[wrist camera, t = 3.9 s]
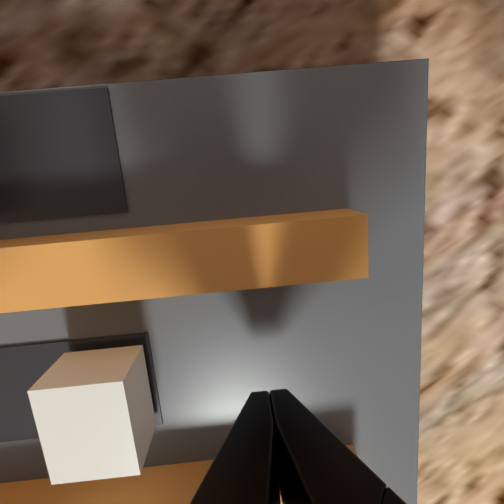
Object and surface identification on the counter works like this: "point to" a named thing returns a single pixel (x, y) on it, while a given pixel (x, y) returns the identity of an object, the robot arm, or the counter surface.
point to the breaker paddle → (94, 414)
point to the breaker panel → (219, 208)
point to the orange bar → (182, 259)
